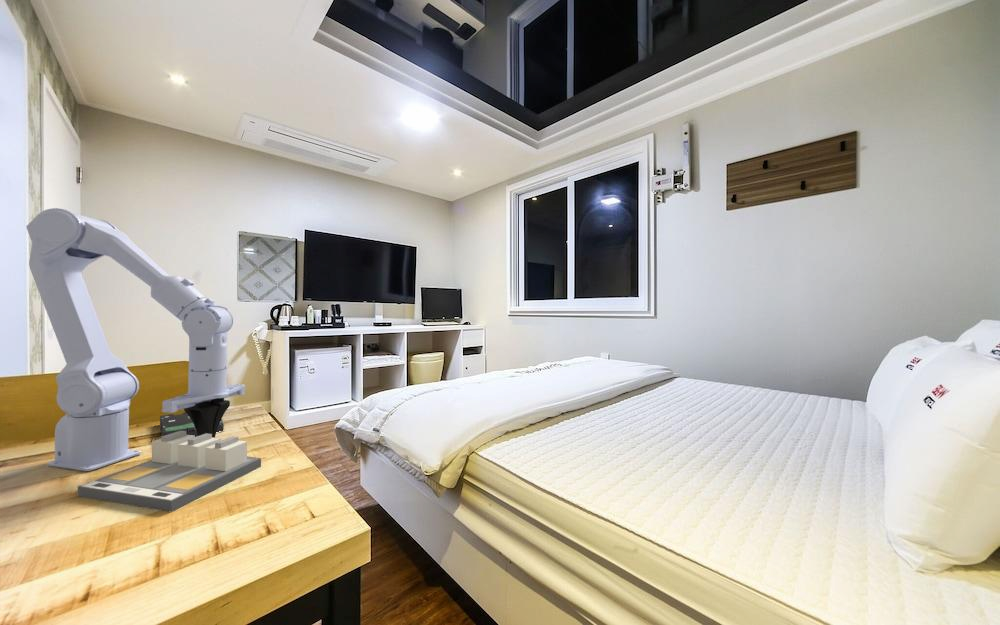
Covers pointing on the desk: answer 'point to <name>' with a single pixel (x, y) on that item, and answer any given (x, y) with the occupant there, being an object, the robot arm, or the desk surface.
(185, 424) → the disk drive
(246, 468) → the switch panel
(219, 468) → the tab
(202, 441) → the tab
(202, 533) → the desk surface
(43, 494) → the desk surface
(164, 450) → the tab
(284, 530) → the desk surface
